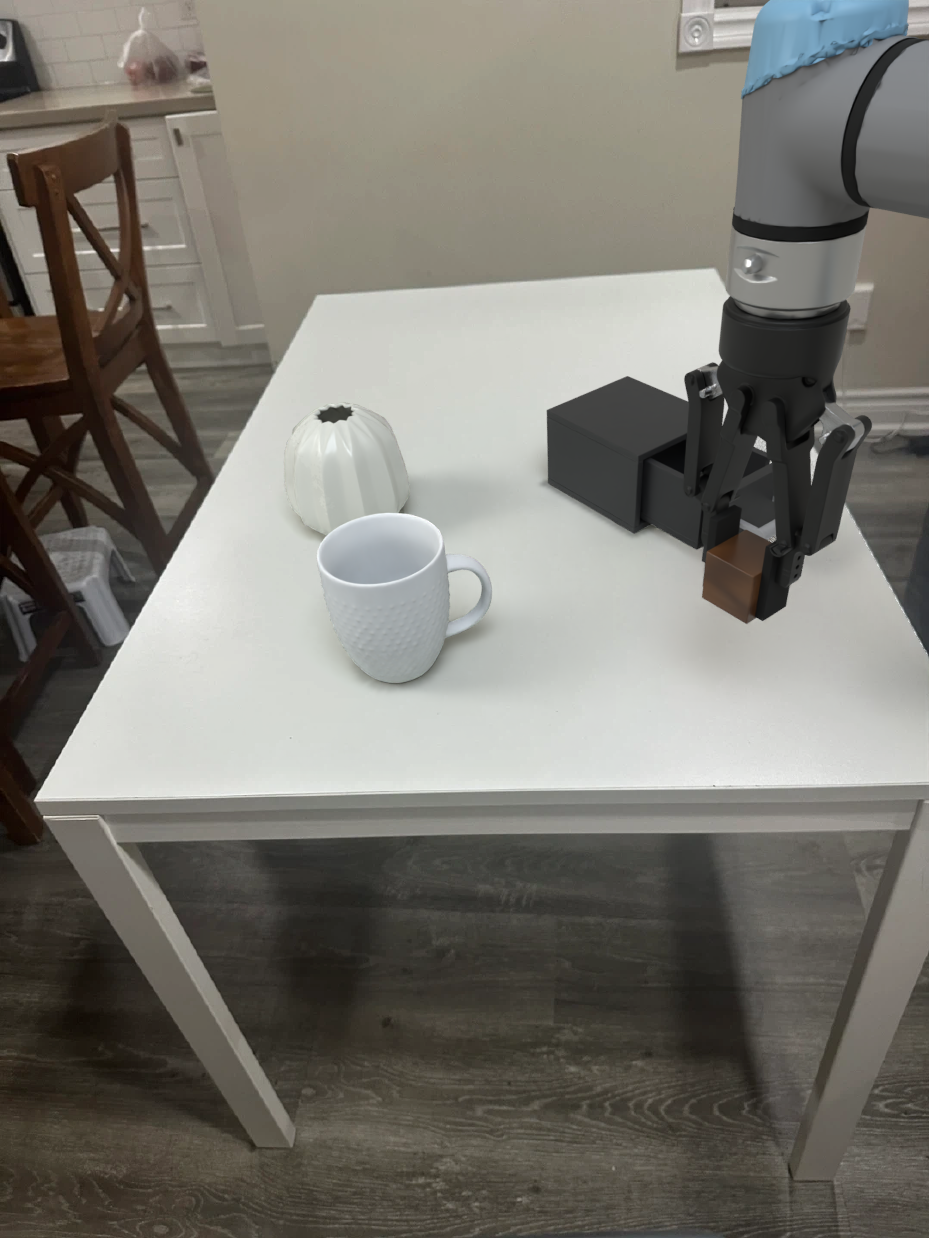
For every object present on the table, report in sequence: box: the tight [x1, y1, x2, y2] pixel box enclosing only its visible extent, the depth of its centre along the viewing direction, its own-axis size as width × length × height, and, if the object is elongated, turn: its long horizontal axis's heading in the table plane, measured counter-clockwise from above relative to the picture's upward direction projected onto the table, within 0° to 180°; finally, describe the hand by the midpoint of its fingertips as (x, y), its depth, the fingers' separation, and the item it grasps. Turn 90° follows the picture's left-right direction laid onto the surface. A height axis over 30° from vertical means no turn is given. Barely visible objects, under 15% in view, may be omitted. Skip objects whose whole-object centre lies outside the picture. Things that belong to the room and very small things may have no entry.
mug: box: [316, 512, 493, 684], centre depth 78 cm, size 15×11×13 cm
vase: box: [283, 401, 411, 537], centre depth 97 cm, size 14×14×13 cm
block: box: [701, 530, 773, 625], centre depth 67 cm, size 4×4×4 cm
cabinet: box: [546, 375, 689, 534], centre depth 99 cm, size 15×13×10 cm
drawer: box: [640, 437, 776, 564], centre depth 90 cm, size 18×11×8 cm, turn 36°
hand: (743, 595), depth 68 cm, fingers closed on block, 4 cm apart
